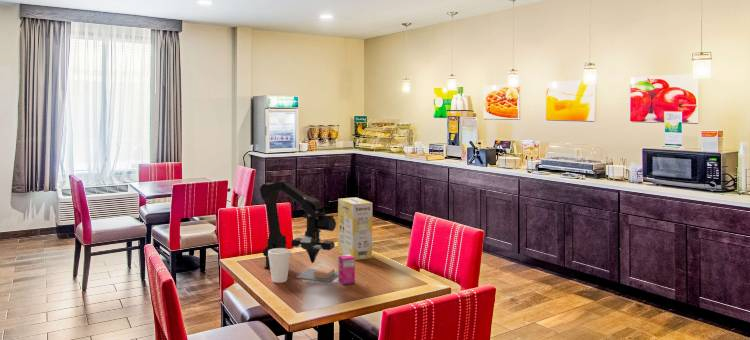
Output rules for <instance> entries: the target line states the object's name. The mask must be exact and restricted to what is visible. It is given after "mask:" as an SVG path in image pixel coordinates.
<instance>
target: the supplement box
mask: <svg viewBox="0 0 750 340" xmlns="http://www.w3.org/2000/svg"><path fill="white" fill-rule="evenodd" d="M337 259H338V260H337V261H338V262H337V265H338V267H337V269H338V271H337V272H338V276H337V278H338V279H337V280H338V282H339V283H340V284H341V285H342V286H347V285H354V284H356V279H355V278H356V271H355V270H356V265H355V264H356V260H355V258H354V257H353V256H352V255H350V254H349V255H343V254H342V255H341V254H340V255H338V256H337Z"/></svg>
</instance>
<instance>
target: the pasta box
mask: <svg viewBox="0 0 750 340" xmlns="http://www.w3.org/2000/svg"><path fill="white" fill-rule="evenodd" d="M337 200H338V201H337V202H338V203H337V205H338V206H337V252H338V253H340V255H341V254H342V255H349V254H350V255H352V256H353V257H354V258H355V261H357V260H364V259H372V258H373V202H371V201H369V200H366V199H362V198H359V197H356V196H355V197H345V198H342V197H341V198H338V199H337Z"/></svg>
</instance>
